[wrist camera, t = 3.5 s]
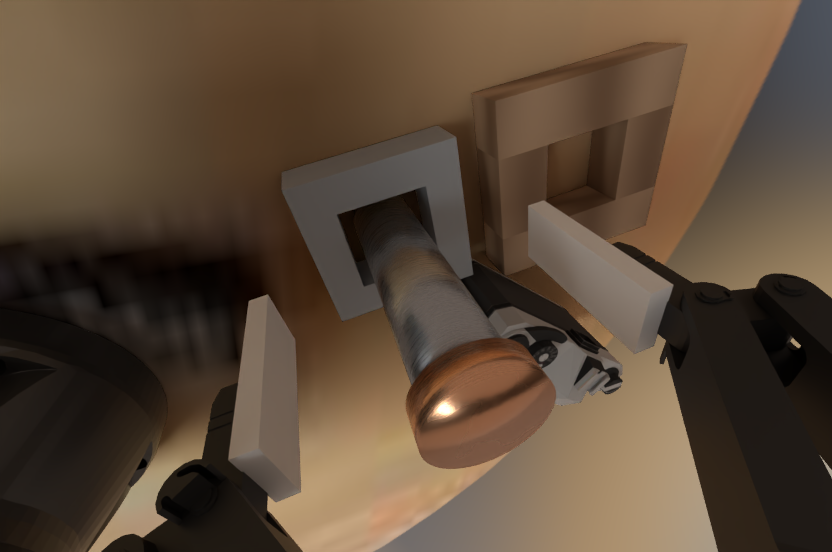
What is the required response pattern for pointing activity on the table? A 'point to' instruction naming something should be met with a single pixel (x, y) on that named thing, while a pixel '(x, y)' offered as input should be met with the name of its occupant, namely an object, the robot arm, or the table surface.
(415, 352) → the lock pin
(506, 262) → the dock block
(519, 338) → the camera
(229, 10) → the table surface
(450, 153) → the plate
